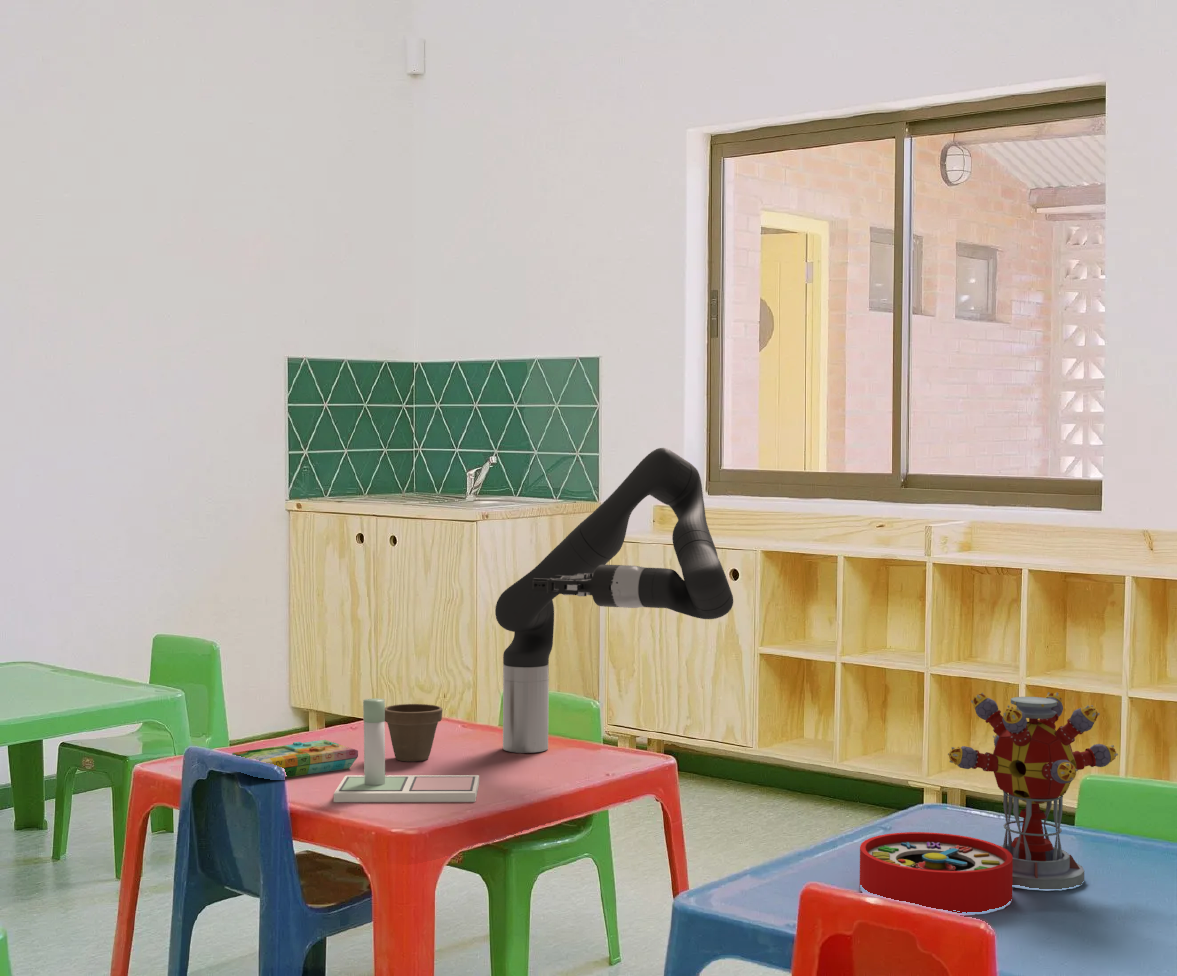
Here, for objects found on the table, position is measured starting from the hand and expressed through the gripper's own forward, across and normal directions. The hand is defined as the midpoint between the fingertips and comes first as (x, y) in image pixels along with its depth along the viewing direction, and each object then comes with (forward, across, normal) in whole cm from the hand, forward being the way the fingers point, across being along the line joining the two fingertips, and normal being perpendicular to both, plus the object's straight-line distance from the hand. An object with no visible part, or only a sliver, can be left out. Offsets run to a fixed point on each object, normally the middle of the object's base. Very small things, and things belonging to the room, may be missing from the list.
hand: (542, 582), depth 256 cm
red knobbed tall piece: (-90, +23, +36) cm, 100 cm away
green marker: (+21, +23, +34) cm, 46 cm away
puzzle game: (+44, +15, +36) cm, 59 cm away
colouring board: (+15, +21, +36) cm, 44 cm away
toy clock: (-80, +37, +36) cm, 95 cm away
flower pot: (+31, -4, +36) cm, 48 cm away
